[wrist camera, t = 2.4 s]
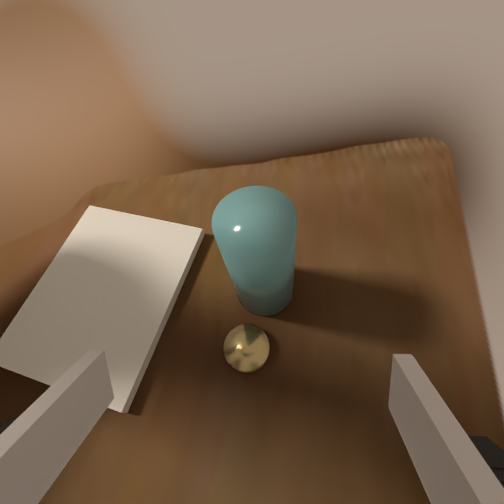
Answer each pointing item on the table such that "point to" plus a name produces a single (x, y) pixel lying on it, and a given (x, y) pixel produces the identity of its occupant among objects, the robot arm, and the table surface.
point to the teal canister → (258, 246)
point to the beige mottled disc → (246, 348)
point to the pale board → (103, 300)
